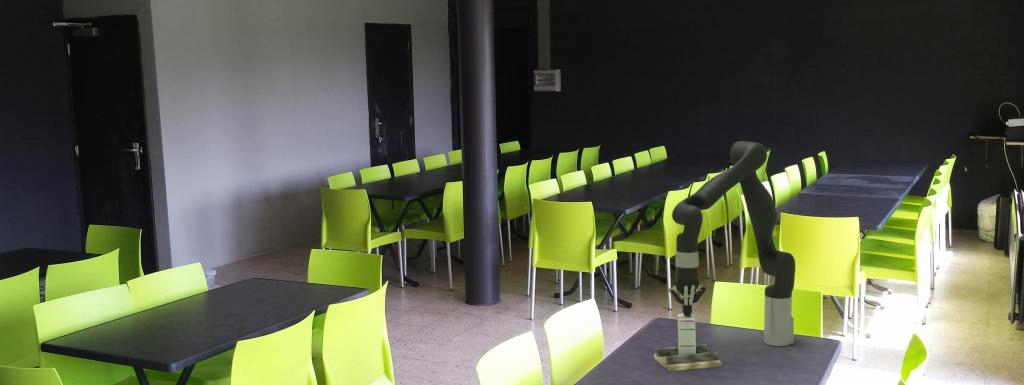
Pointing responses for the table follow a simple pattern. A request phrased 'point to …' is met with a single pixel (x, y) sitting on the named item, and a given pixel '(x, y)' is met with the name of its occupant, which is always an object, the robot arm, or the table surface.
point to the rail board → (687, 358)
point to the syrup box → (686, 334)
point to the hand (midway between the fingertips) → (687, 315)
